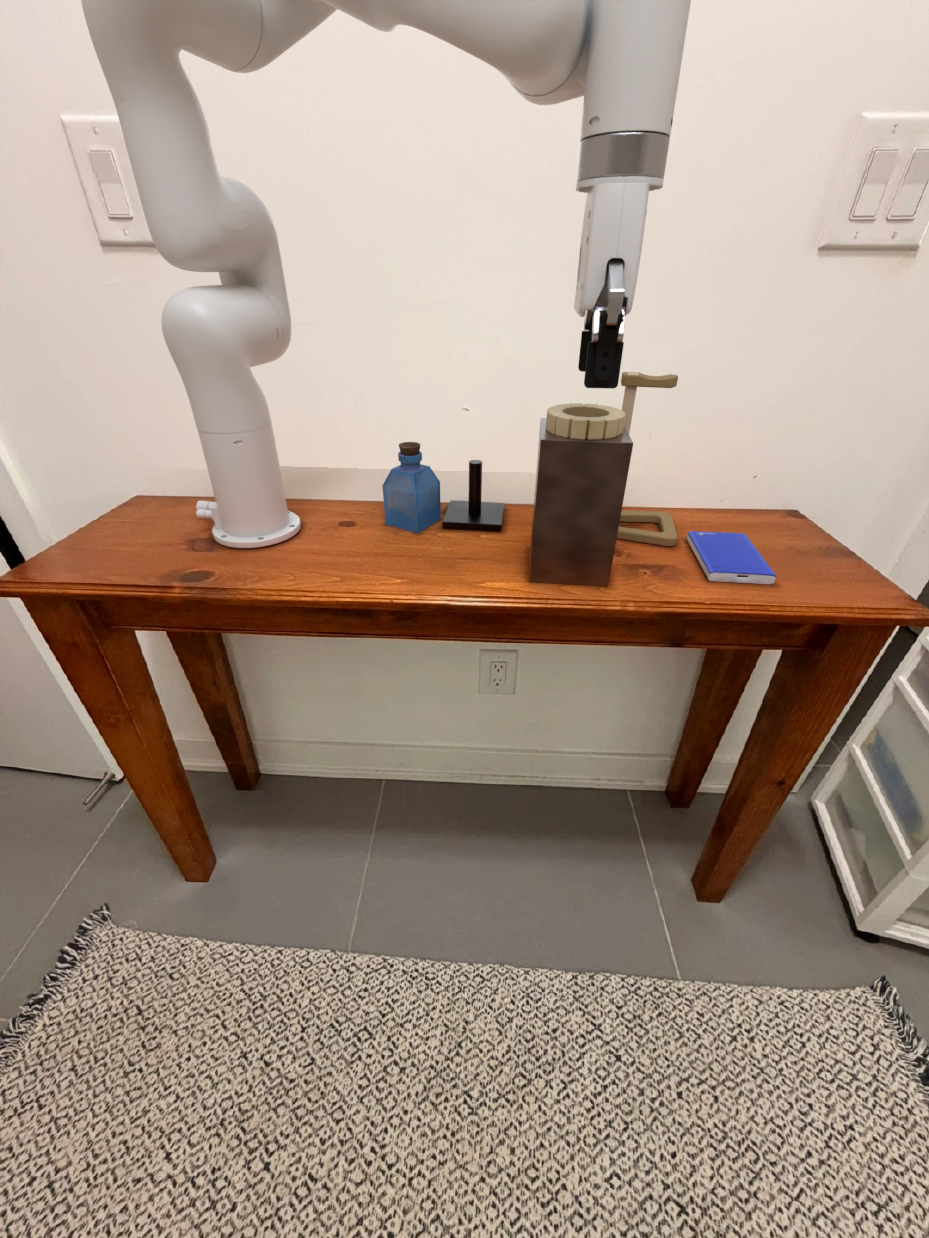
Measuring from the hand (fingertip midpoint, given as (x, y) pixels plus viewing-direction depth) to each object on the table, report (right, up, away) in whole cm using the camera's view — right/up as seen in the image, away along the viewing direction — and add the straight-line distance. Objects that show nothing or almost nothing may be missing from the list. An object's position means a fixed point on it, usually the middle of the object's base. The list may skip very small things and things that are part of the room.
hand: (596, 378), depth 57 cm
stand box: (0, -18, +16) cm, 24 cm away
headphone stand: (+12, -12, +26) cm, 32 cm away
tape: (0, -3, +6) cm, 7 cm away
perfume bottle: (-22, -10, +28) cm, 37 cm away
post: (-12, -9, +29) cm, 33 cm away
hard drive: (+22, -17, +18) cm, 33 cm away
